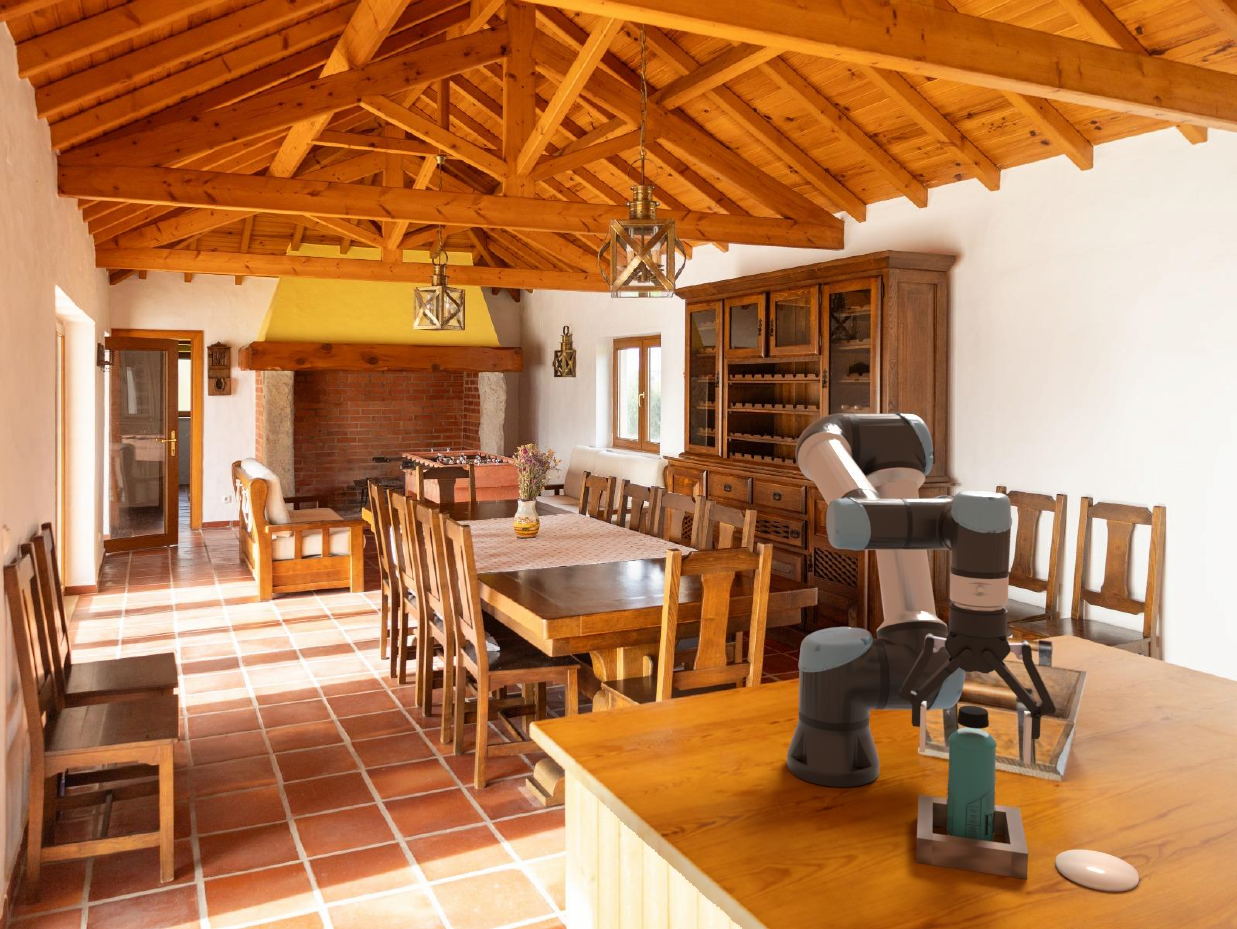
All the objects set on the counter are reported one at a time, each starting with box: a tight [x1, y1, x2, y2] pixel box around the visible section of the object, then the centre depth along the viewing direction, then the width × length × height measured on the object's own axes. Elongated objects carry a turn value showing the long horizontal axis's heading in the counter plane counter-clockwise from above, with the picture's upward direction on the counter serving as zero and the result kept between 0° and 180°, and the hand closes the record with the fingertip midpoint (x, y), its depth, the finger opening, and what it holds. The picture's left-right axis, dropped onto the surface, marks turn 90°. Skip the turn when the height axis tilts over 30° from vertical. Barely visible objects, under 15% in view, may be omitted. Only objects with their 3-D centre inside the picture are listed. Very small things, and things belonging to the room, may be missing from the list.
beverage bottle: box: [946, 705, 998, 842], centre depth 136 cm, size 6×7×20 cm
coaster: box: [1055, 849, 1140, 893], centre depth 130 cm, size 10×10×1 cm
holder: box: [915, 794, 1029, 880], centre depth 136 cm, size 14×14×4 cm
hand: (973, 754), depth 135 cm, fingers open, 13 cm apart
